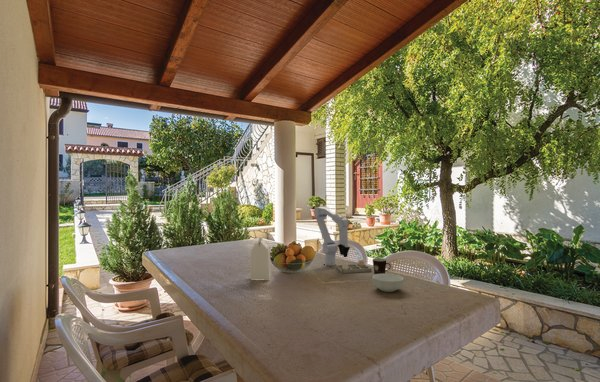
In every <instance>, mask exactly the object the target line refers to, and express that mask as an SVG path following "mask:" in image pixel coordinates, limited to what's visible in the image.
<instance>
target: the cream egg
mask: <svg viewBox="0 0 600 382" xmlns="http://www.w3.org/2000/svg"><path fill="white" fill-rule="evenodd" d="M342 265H343V266H342V269H343V270H347V269H349V266H348V265H349V263H348V262H345V261H344V262H343V263H342Z"/></svg>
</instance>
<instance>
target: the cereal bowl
mask: <svg viewBox="0 0 600 382" xmlns="http://www.w3.org/2000/svg"><path fill="white" fill-rule="evenodd" d="M404 280H405V279H404V277H403V276H402V275H399V274H393V273H385V274H373V275H372V277H371V281H372V284H373V286H374V287H376V288H377V289H379V290H380V291H382V292H385V293H386V292H388V293H393V292H395V291H397V290H400V289H401V288H403V286H404Z"/></svg>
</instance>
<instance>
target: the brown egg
mask: <svg viewBox="0 0 600 382" xmlns="http://www.w3.org/2000/svg"><path fill="white" fill-rule="evenodd" d="M357 264H358V266H364V264H365V261H364V260H363V259H359V260H358V263H357Z"/></svg>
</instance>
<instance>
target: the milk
mask: <svg viewBox="0 0 600 382" xmlns="http://www.w3.org/2000/svg"><path fill="white" fill-rule="evenodd" d="M250 250H251V251H250V279H264V280H269V279H270V280H271V277H272V266H271V265H272V263H271V248H270V246H269V245H268V244H267V242H266V241H264V240H263V235H259V237H258V242H257V241H256V242H255V243H254V244H253V247H252V248H251V249H250ZM270 276H271V277H270ZM270 280H269V281H270Z"/></svg>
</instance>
